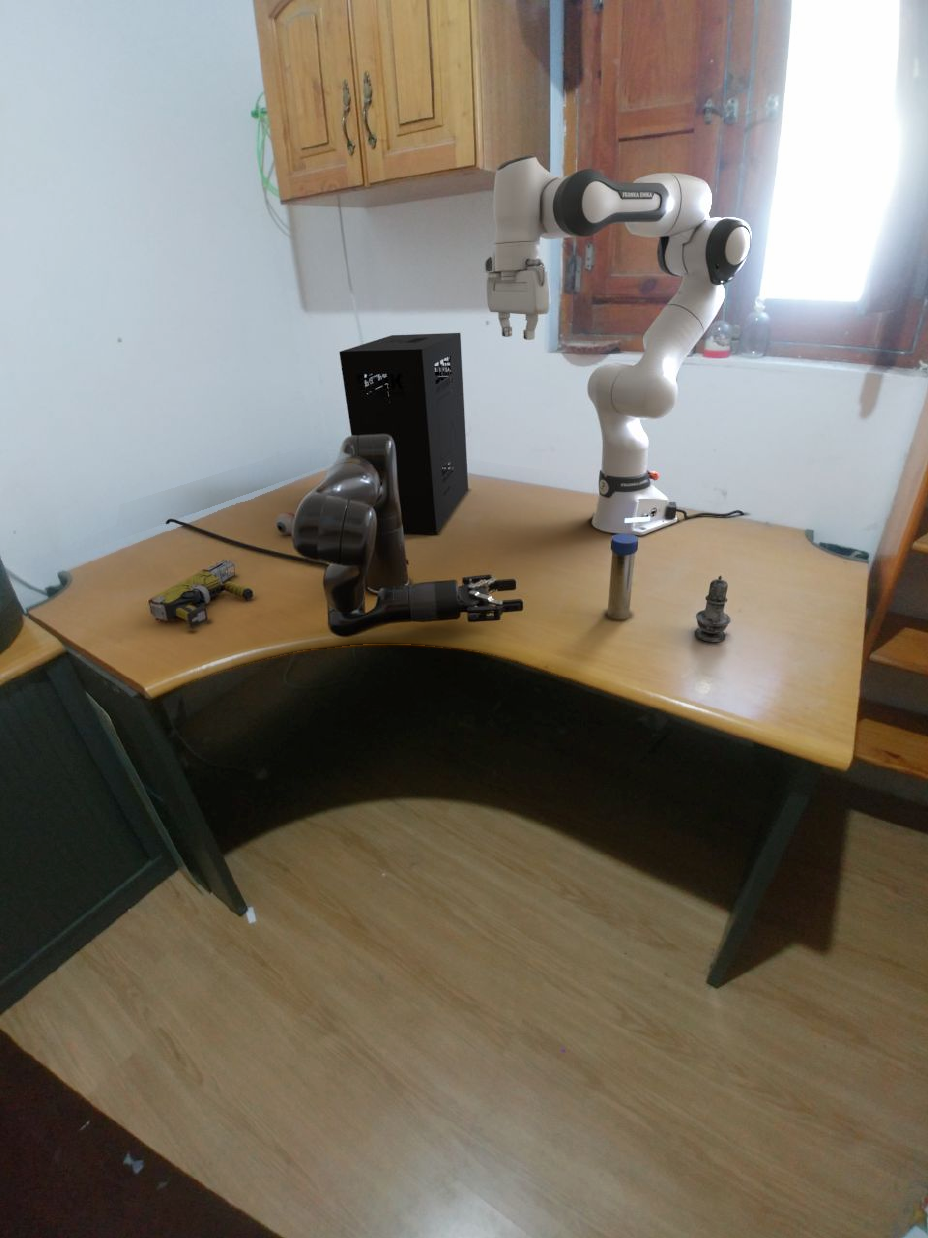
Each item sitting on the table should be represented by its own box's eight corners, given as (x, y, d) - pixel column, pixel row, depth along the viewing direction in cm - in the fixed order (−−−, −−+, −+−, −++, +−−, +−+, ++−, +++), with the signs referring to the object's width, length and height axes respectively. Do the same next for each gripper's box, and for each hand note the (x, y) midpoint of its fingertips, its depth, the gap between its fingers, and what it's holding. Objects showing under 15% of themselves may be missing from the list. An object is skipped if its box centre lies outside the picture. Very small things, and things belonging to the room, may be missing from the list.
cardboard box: (436, 534, 159) (422, 349, 137) (364, 531, 164) (339, 351, 141) (468, 489, 191) (460, 332, 168) (407, 487, 195) (391, 335, 173)
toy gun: (275, 568, 138) (221, 556, 142) (203, 614, 118) (142, 599, 122) (277, 586, 140) (223, 575, 144) (207, 635, 120) (146, 620, 124)
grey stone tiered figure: (729, 644, 107) (742, 583, 101) (695, 641, 108) (705, 582, 102) (724, 627, 112) (735, 568, 106) (691, 625, 113) (700, 567, 107)
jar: (604, 610, 120) (609, 537, 112) (624, 608, 121) (630, 535, 113) (612, 621, 117) (618, 546, 109) (632, 618, 117) (640, 543, 109)
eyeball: (273, 537, 164) (268, 516, 161) (287, 528, 169) (282, 508, 166) (291, 539, 161) (286, 518, 158) (305, 530, 166) (301, 510, 163)
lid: (606, 546, 113) (607, 534, 112) (631, 543, 114) (632, 531, 113) (616, 556, 109) (617, 544, 108) (641, 553, 110) (643, 541, 109)
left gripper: (433, 601, 105) (525, 593, 106) (431, 567, 118) (513, 560, 118) (436, 637, 109) (525, 630, 110) (434, 601, 122) (513, 594, 122)
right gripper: (559, 257, 111) (557, 339, 117) (507, 261, 127) (508, 333, 134) (529, 258, 108) (529, 342, 115) (480, 262, 125) (482, 336, 132)
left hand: (519, 594), depth 114 cm, fingers open, 8 cm apart
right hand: (517, 337), depth 125 cm, fingers open, 8 cm apart
